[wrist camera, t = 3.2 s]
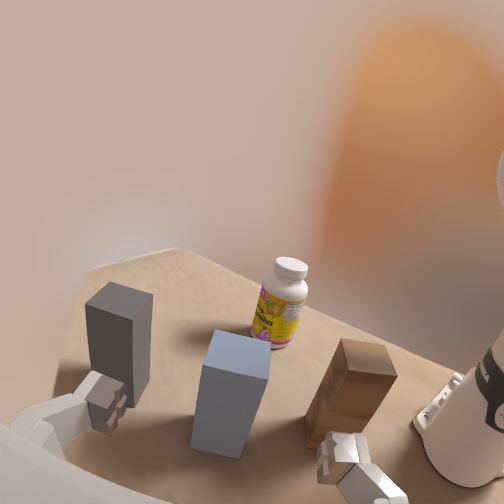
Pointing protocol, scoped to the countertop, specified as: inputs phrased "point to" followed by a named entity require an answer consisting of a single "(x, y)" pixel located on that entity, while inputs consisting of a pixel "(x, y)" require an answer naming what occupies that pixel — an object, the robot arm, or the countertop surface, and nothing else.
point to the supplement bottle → (280, 302)
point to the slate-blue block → (229, 393)
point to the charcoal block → (121, 336)
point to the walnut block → (349, 390)
